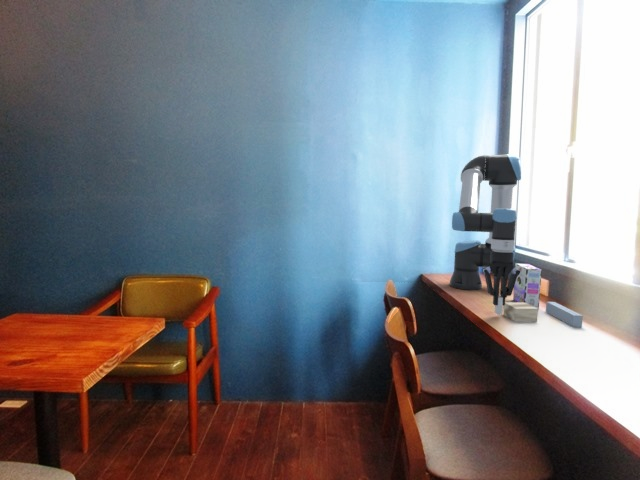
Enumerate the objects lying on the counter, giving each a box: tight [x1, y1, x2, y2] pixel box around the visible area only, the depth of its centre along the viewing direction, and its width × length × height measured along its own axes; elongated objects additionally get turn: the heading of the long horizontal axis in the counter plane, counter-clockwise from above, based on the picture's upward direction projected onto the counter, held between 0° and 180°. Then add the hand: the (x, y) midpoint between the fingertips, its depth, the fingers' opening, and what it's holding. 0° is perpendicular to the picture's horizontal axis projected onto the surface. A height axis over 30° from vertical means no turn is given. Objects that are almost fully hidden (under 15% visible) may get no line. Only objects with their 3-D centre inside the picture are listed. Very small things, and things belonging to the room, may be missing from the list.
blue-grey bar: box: [545, 301, 584, 328], centre depth 132 cm, size 17×3×4 cm, turn 176°
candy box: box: [512, 263, 542, 310], centre depth 150 cm, size 14×6×16 cm, turn 168°
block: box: [502, 301, 539, 323], centre depth 133 cm, size 8×8×5 cm
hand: (498, 313), depth 133 cm, fingers closed
